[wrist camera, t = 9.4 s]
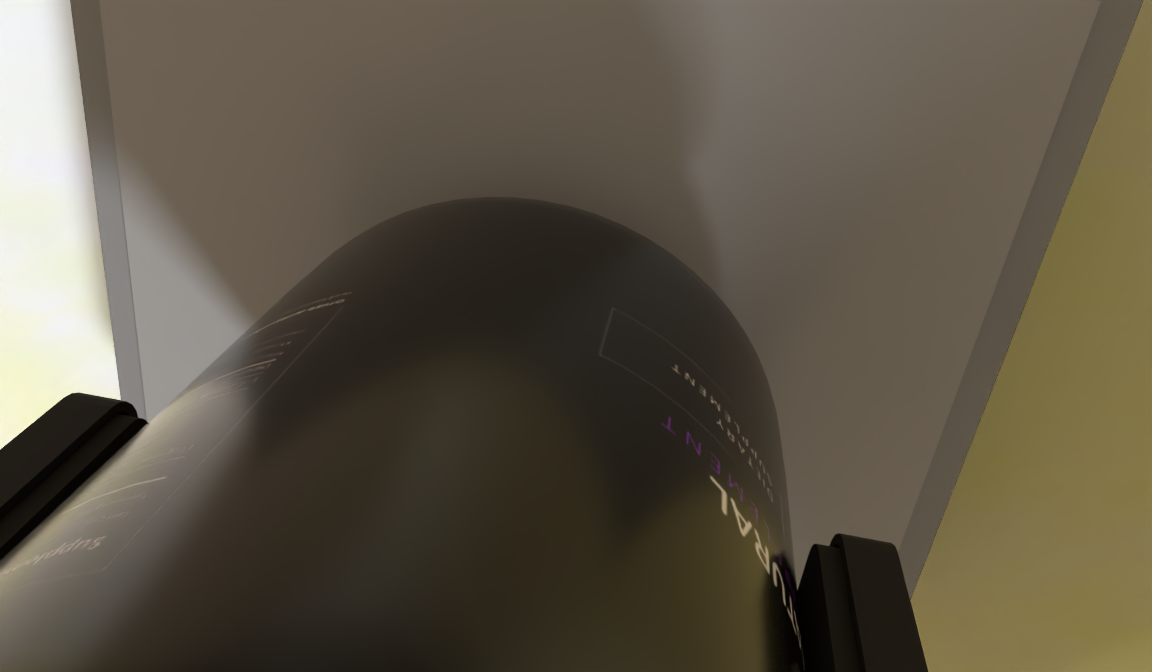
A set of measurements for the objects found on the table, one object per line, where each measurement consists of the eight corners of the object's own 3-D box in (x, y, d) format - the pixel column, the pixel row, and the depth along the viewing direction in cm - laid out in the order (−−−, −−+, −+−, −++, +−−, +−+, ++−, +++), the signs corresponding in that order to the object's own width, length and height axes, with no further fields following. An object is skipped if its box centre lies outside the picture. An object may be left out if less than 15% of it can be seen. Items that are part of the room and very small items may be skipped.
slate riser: (1046, -68, 14) (1165, -41, 10) (829, 588, 20) (855, 752, 16) (206, -185, 15) (37, -199, 11) (244, 479, 21) (143, 612, 17)
